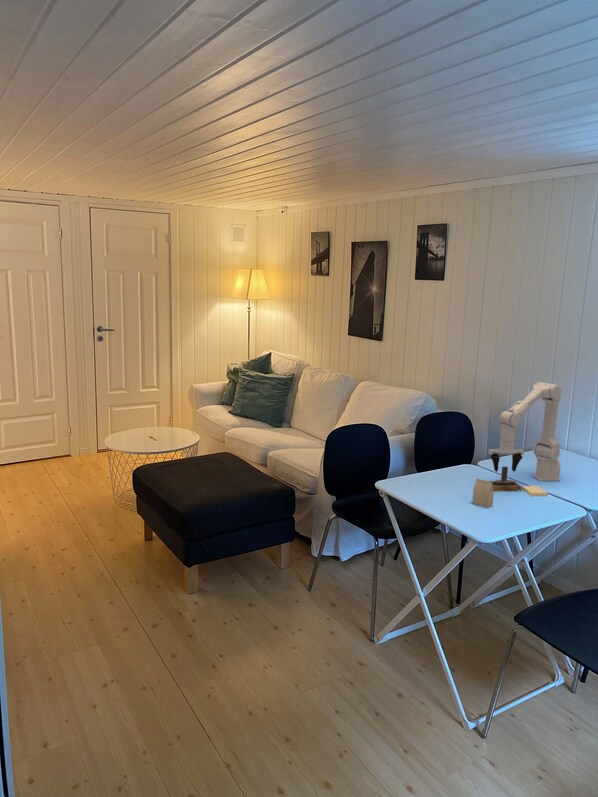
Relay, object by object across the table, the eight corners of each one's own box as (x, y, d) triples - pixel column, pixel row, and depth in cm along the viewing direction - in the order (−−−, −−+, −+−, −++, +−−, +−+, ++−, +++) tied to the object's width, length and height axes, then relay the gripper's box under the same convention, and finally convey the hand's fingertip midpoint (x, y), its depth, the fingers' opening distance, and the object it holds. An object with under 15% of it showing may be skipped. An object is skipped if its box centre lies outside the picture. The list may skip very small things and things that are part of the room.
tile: (537, 485, 262) (547, 493, 254) (537, 489, 263) (547, 497, 254) (521, 486, 262) (531, 493, 253) (521, 490, 262) (531, 497, 253)
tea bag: (487, 508, 239) (489, 483, 238) (472, 503, 244) (474, 479, 242) (492, 505, 242) (494, 481, 240) (477, 501, 247) (478, 477, 245)
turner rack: (513, 485, 267) (514, 480, 266) (520, 491, 260) (521, 486, 259) (486, 485, 266) (486, 481, 265) (492, 491, 259) (492, 486, 258)
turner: (510, 487, 264) (512, 466, 262) (511, 488, 262) (513, 467, 261) (494, 487, 263) (496, 466, 261) (495, 488, 262) (497, 467, 260)
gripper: (520, 437, 263) (517, 467, 266) (487, 437, 262) (484, 468, 265) (527, 441, 256) (524, 472, 259) (493, 441, 255) (490, 473, 258)
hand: (504, 470), depth 261 cm, fingers open, 7 cm apart
